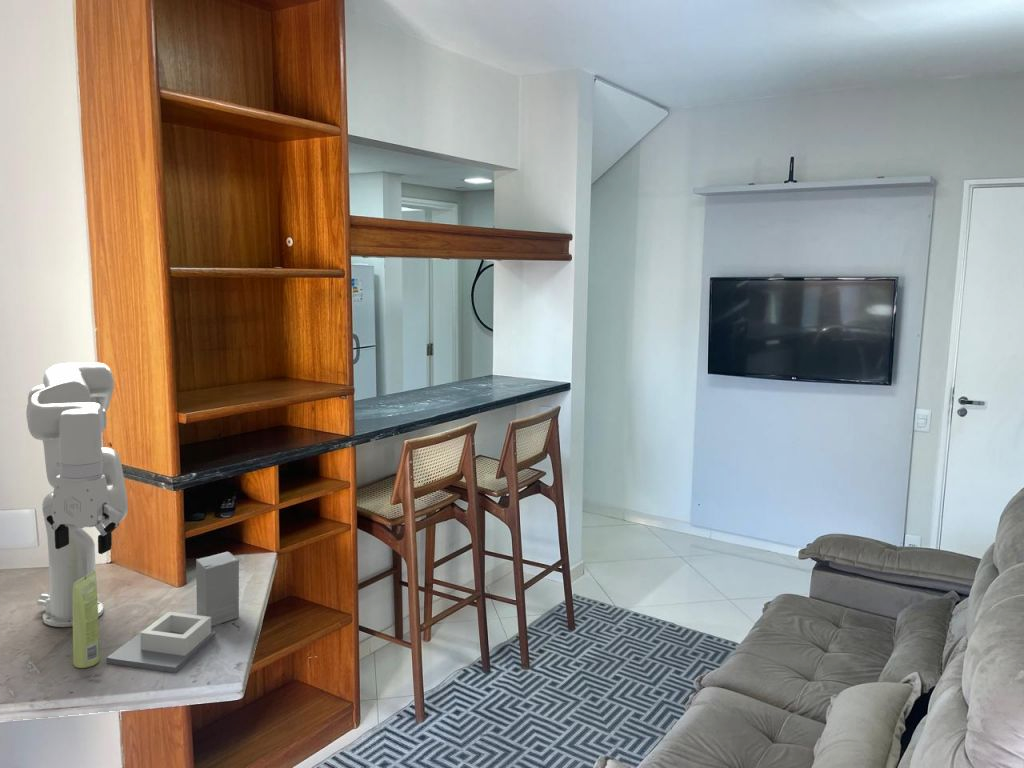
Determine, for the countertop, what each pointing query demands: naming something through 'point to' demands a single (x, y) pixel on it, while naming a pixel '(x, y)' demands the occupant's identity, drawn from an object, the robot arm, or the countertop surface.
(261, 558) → the countertop surface
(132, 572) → the countertop surface
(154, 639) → the dock
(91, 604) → the tube
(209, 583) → the skincare box
